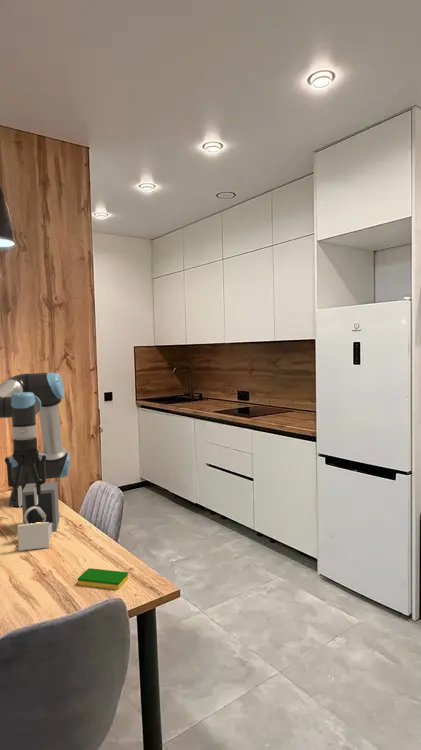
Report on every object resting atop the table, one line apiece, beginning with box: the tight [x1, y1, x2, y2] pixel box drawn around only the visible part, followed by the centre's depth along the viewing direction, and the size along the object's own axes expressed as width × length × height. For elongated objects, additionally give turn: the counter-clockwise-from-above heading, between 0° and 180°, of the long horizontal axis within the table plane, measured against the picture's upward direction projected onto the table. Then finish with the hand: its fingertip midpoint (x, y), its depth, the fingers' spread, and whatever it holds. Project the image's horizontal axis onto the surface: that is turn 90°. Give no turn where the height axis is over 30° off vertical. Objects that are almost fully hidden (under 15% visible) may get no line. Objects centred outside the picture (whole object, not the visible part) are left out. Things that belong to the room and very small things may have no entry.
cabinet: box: [21, 480, 60, 532], centre depth 192 cm, size 12×12×17 cm
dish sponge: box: [77, 567, 129, 590], centre depth 146 cm, size 7×14×2 cm, turn 75°
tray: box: [17, 522, 53, 552], centre depth 178 cm, size 16×10×9 cm, turn 12°
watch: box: [24, 506, 46, 524], centre depth 179 cm, size 6×8×11 cm
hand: (28, 504), depth 163 cm, fingers open, 4 cm apart
